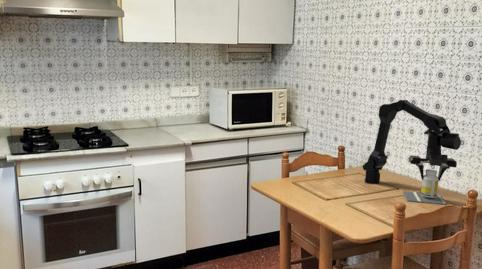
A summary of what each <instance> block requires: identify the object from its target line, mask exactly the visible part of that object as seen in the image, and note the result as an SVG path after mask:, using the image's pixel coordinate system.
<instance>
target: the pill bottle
mask: <svg viewBox="0 0 482 269" xmlns="http://www.w3.org/2000/svg"><path fill="white" fill-rule="evenodd" d="M421 181H422V182H421V190H420V193H421V195H422V196H424V197H429V198H434V197H436V196H437V194H438V189H439V182H440V181H439V178H438V170H436V169H432V168H431V169H430V168H428V169H425V174H423V180H422V179H421Z"/></svg>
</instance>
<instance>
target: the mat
mask: <svg viewBox="0 0 482 269" xmlns="http://www.w3.org/2000/svg"><path fill="white" fill-rule="evenodd" d="M402 193H403V195H404V198H405V200H406V201H407V202H410V203H411V202H412V203H420V202H421V203H422V204H431V203H434V205H443V204H444V205H446V206H447V202H446V201H445V200H444V198H443V197H442V196H441V194H440V193H437V196H436V197H434V198H429V197H424V196H422V195H421V192H418V191H417V192H416V191H407V190H406V191H402Z"/></svg>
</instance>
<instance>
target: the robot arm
mask: <svg viewBox="0 0 482 269" xmlns="http://www.w3.org/2000/svg"><path fill="white" fill-rule="evenodd" d="M401 111H404V112H406V113H407V114H409V115H411V116H413V117H414V118H416V119H418V120H419V121H421V122H422V124H423V125H424V126H425V127H426V128H427V129H426V130H425V131H424V132H423V134H424V135H427V141H426V151H425V152H426V154H425V158H424V157H421V156H419V155H409V157H408V159H409V160H408V162H409V163H410V164H411V165H415V166H416V167H418V170H419V174H420V177H421V181H422V180H423V176H424V167H425V165H424V164H429V166H431V167H432V166H433V167H434V166H437V167H439V169H438V173H437V177H438V178H439V181H438V182H440V180H441V178H442V177H443V174H444V173H445V172H446V171H447V170H449V169H451V168H457V164H458V163H457V161H456V160H455V159H454V158H449V157H448V154H442V148H444V149H449V150H454V151H458V150H459V149H460V147H461V144H462V140H461V137H460V134H459V133H454V132H451V130H450V128H449V126H448V124H447V121H446V119H445V117H443V116H441V115H437V114H433V113H430V112H427V111H426V110H424V109H422V108H420V107H419V106H417V105H415V104H414V103H411V102H410V101H409V100H408V99H400V100H398V101H395V102H391V103H384V104H381V105H380V106H379V109H378V118H379V126H378V130H377V135H376V138H375V144H374V149H373V150H372V151H371V153H370V154H369V156H368V158H367V162H365V163H364V164H362V170H363V171H365V173H364V174H365V176H364V183H366V184H375V185H376V184H377V185H378V184H380V180H381V172H380V171H382V170H383V167H385V166H386V164H387V163H388V157H389V155H386V147H387V141H388V137H389V132H390V128H391V124H392V122H393V121H394V120H395V119H396V116H397V114H398V113H400V112H401Z"/></svg>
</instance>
